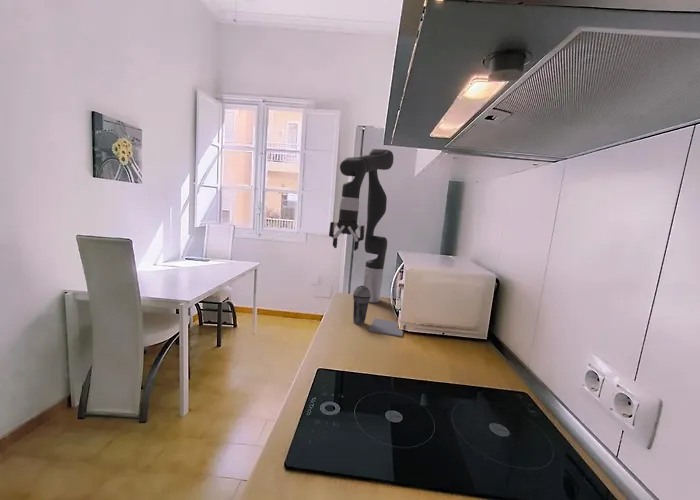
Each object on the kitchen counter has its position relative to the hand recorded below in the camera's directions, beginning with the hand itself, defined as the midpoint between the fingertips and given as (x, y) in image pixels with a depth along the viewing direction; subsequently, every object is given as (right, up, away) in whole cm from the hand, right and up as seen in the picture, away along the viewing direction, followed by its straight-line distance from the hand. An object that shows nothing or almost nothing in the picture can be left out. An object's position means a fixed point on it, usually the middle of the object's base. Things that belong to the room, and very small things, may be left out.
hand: (345, 249), depth 149 cm
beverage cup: (+6, -31, +2) cm, 31 cm away
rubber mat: (+17, -32, 0) cm, 36 cm away
